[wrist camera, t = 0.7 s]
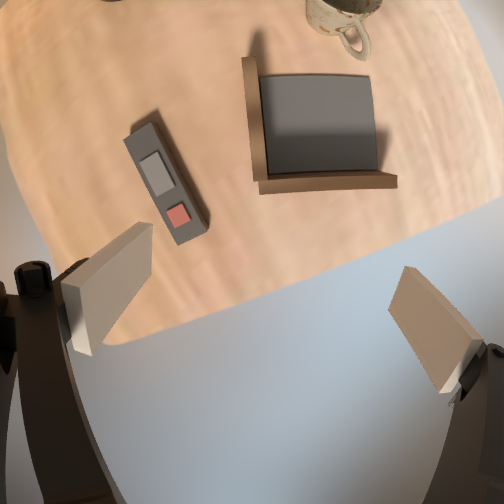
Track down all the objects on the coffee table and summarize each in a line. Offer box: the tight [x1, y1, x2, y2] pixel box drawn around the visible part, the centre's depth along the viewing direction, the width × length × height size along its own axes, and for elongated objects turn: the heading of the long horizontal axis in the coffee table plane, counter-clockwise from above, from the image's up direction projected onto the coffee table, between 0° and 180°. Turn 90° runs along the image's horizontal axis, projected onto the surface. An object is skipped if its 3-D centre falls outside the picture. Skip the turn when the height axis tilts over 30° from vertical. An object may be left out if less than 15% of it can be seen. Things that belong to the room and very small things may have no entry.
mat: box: [260, 75, 377, 174], centre depth 33 cm, size 13×14×1 cm
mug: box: [306, 0, 383, 61], centre depth 23 cm, size 8×13×10 cm, turn 25°
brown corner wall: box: [241, 56, 397, 195], centre depth 30 cm, size 16×16×6 cm
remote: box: [123, 122, 209, 245], centre depth 35 cm, size 16×4×2 cm, turn 25°
